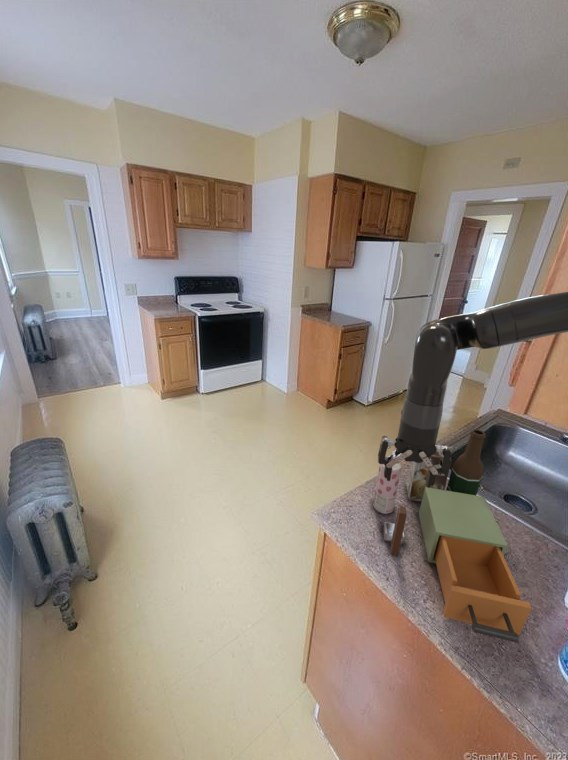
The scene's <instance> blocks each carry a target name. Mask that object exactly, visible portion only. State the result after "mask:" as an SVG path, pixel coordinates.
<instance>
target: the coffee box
mask: <svg viewBox="0 0 568 760" xmlns="http://www.w3.org/2000/svg"><path fill="white" fill-rule="evenodd" d="M440 457H441V456H440V455H439V453H438V452H437V451H436V453H434V454H433V455H432V456H431V459H432V460H433V462H434V463H435V465H438V464H439V463H440ZM452 461H453V460H452V457H451V456H450V461H449V467H448V473H447V474H443V473H438V474H437V475H436V479H435V484H434V485H433V486H431V488H434V489H440V490H446V487H447V483H448V482H447V481H448V477H449V473H450V469H451V465H452ZM427 472H428V467H427V466H426V464H425V463H424V462H421V463H416V462H414V461H410V467H409V472H408V477H407V483H406V490H407V495H408V500H409V501H413V502H420V503H422V498H423V494H424V490H425V487H427V486H426V477H427Z"/></svg>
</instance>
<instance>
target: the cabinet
mask: <svg viewBox="0 0 568 760" xmlns="http://www.w3.org/2000/svg"><path fill="white" fill-rule="evenodd" d="M418 517H419V523H420V528H421V531H422V537H423V541H424V546H425V547H424V548H425V552H426V557H427V562H428V563H431V564H435V565H436V561H435V556H434V554H435V551H436V547H437V543H438V540H439V536H440V535H441V536H446V537H451V538H456V539H461V540H467V541H472V542H477V543H482V544H487V545H492V546H497V547H500V549H501V552H502V554H503V556H504V557H505V554H506V552H507V549H508V547H509V544H508V543H507V541H506V538H505V537H504V535H503V533H502V531H501V528H500V526H499V524H498V523H497V520H496V518H495V517H494V514H493V512H492V511H491V508H490V506H489V504H488V502H487V499H486V497H485V496H481V495H470V494H464V493H458V492H452V491H446V489H445V490H440V489H434V488H428V487H425V490H424V494H423V498H422V502H420V507H419V511H418Z"/></svg>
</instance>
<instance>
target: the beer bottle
mask: <svg viewBox="0 0 568 760" xmlns="http://www.w3.org/2000/svg"><path fill="white" fill-rule="evenodd" d="M469 435H470V436H469V439H468V442H467V443H466V444H467V445H466V447H465V450H464V452H463V453H462V454H460V455H459V456H458V458H456V460H455V461H454V462H453V465H452V466H451V471H450V474H449V478H448V480H447V481H448V482H447V484H446V488H445V490H446V491H452V492H458V493H464V494H470V495H476V496H478V492H479V488H480V486H481V482H482V479H483V476H484V471H485V467H484V464H483V462H482V460H481V454H482V449H483V445H484V441H485V440H484V439H485V438H487V435H486V433H485V432H484V431H483V430H480V429H472V430H471V432H469Z"/></svg>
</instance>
